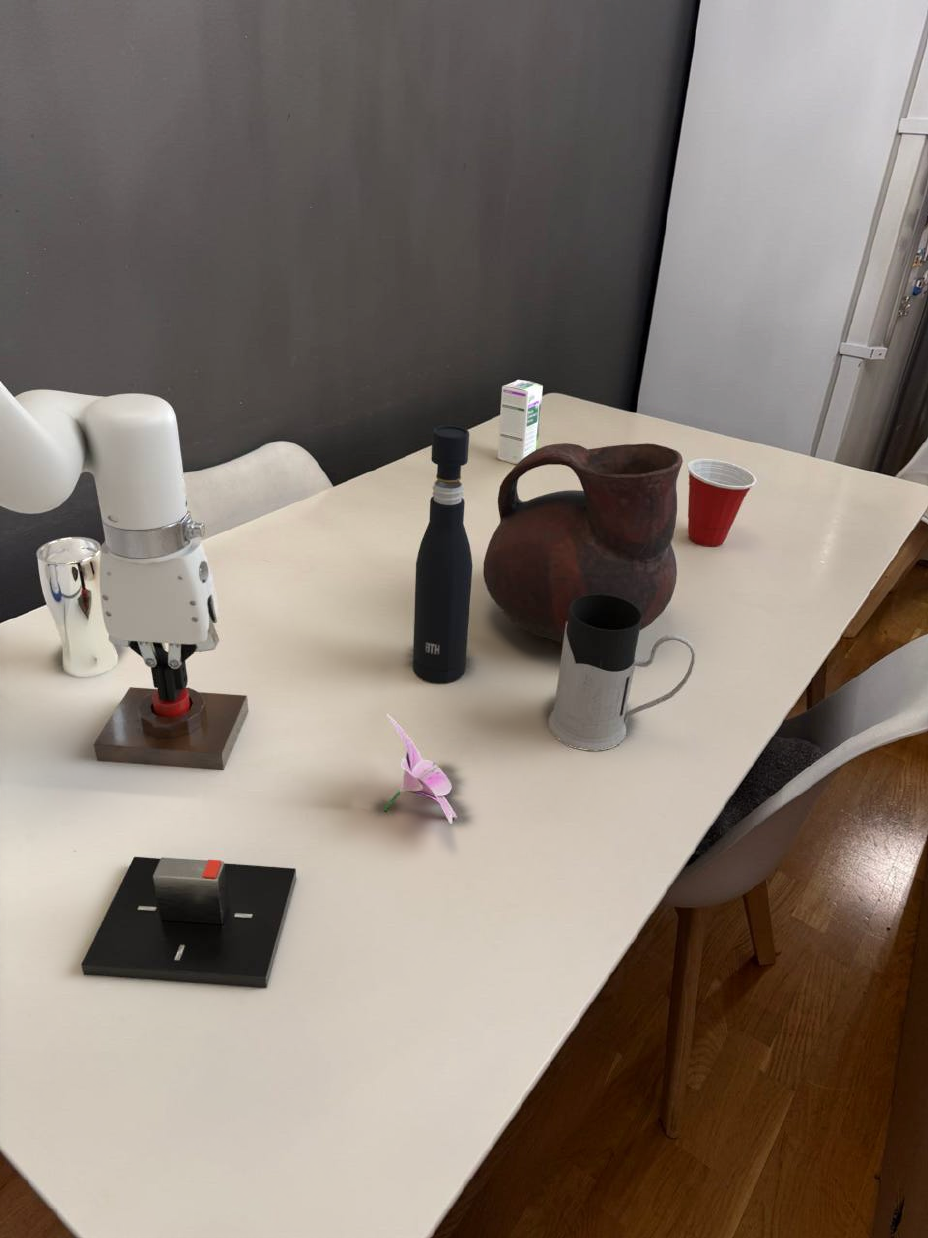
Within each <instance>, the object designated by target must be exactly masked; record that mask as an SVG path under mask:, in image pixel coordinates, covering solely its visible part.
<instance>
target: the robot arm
mask: <svg viewBox="0 0 928 1238" xmlns="http://www.w3.org/2000/svg"><path fill="white" fill-rule="evenodd" d="M177 421H178V420H177V416H176V412H175V410H174V407H172V405H171V404H170V403H169V402H168V401H167V400H165V399H163V398H161V396H157V395H152V394H147V393H137V392H136V393H134V392H133V393H132V392H131V393H120V394H119V393H118V394H114V395H113V394H112V395H108V396H100V395H93V394H92V395H91V394H84V393H75V392H71V391H70V392H69V391H63V390H56V389H55V390H54V389H32V390H28V391H24V392H21V393H19V394H17V395H15V396H13V394H12V393H11V392H10V391H9V389H7V387H6V386H5V385H4V384H3V383H2V381H1V380H0V507H2V508H4V509H7V510H9V511H12V512H16V513H19V514H28V515H33V514H43V513H46V512H49V511H52V510H54V509H56V508H58V507H60V506H61V505H62V504H64V502H66V501H67V500H68V499H69V498H70V496H71V495H72V494H73V492H74V490H75V488H76V486H77V484H78V482H79V479H80V476H81V474H83V473H85V472H87V473H90V474H91V475H92V476H93V479H94V483H95V488H96V494H97V500H98V505H99V511H100V516H101V523H102V529H103V535H104V542H103V543H102V544H101V552H100V596H101V606H102V613H103V619H104V623H105V627H106V630H107V632H108V633H109V641H110V642H111V643H113V645H117V646H121V647H125V648H129V649H130V650H132V651H134V653H136V654H137V655H138V656H140V657H141V658H142V659H143V661H144V664H145V666H147V667H148V668H150V671H151V678H152V684H153V688H154V689H158V694H159V699H160V700H166V699H170V701H176V700H177V698H178V696H179V694H180V692H181V690H184V689H185V688H186V687H188V680H189V679H188V672H187V671H188V670H187V665H186V661H187V660H188V659H190V657H191V656H193V654H194V653H196V652H198V653H200V652H201V653H202V652H209V651H214V650H216V649H217V647H218V645H219V642H220V637H219V634H218V632H217V630H216V627H215V624H217V622H218V620H219V604H218V599H217V593H216V589H215V588H216V587H215V584H214V579H213V575H212V571H211V567H210V564H209V560H208V558H207V554H206V552H205V551H206V550H205V548H204V546H203V543H202V541H201V539H200V538H204V537H205V534H206V526H205V523H203V522H202V523H201V522H197V521H196V520H193V518H192V514H191V511H190V510H188V500H187V493H186V486H185V476H184V468H183V460H182V452H181V445H180V444H181V443H180V435H179V427H178V422H177ZM166 644H168V648H167V649H168V650H166V646H165V645H166Z"/></svg>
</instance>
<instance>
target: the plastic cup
mask: <svg viewBox="0 0 928 1238" xmlns="http://www.w3.org/2000/svg"><path fill="white" fill-rule="evenodd" d="M687 471H688V505H687V507H688V508H687V519H688V521H687V523H688V524H687V535H688V539H689V540H690V541H691V542H693V543H695V544H697V545H699V546H704V547H720V546H722V545H723V544H724V542H725V540H726V539H727V537H728V535H729V532H730V530H731V527H732V526H733V524H734V522H735V519H736V517H737V516H738V514H739V510H740V508H741V507H742V504H743V502H744V500H745V497H746V496H747V494H748V492H749V491H750V490H751V489H752V488H753V487H754V486H755V485H756V484H757V481H758V480H757V478H756V476H755V475H754V474H753V473H752V472H751V471H749V469H746V468H744V467H742V466H740V465H737V464H734V463H732V462H729V461H725V460H718V459H712V458H698V459H693V460H690V462H689V463H687Z"/></svg>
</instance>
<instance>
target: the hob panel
mask: <svg viewBox="0 0 928 1238" xmlns="http://www.w3.org/2000/svg"><path fill="white" fill-rule="evenodd" d="M160 859H161V858H159V857H158V858H157V857H145V856H133V858H132V860H131V862H130V864H129V867H128V868H127V870H126V872H125V874H124V876H123V879H122V880H121V883H120V884H119V887H118V889H117V890H116V893H115V895H114V897H113V898H112V901H111V903H110V904H109V906H108V909H107V911H106V913H105V915H104V917H103V919H102V921H101V923H100V925H99V928H98V929H97V932H96V933H95V934H94V935H95V936H94V937H93V940H92V941H91V943H90V946H89V948H88V950H87V952H86V953H85V955H84V957H83V960H82V962H81V964H80V965H81V969H82V974H83V975H84V976H97V977H111V978H124V979H139V980H152V981H163V982H164V981H165V982H177V983H189V984H190V983H191V984H203V985H216V986H217V985H218V986H231V987H243V988H258V989H267V988H268V984H269V982H270V981H269V980H270V977H271V975H272V974H271V973H272V971H273V966H274V963H275V959H276V954H277V951H278V948H279V945H280V940H281V936H282V932H283V929H284V926H285V921H286V918H287V914H288V911H289V907H290V903H291V900H292V896H293V892H294V889H295V885H296V881H297V869H296V868H295V867H282V866H281V867H280V866H267V865H255V864H254V865H252V864H238V863H227V862H224V866H225V874H226V883H227V891H228V900H229V907H228V910H227V913H226V916H225V919H224V922H223V924H211V923H196V922H180V921H165V920H161V919H160V913H159V908H158V902H157V896H156V891H155V885H154V879H153V875H154V873H155V871H156V868H157V866H158V864H159V862H160Z"/></svg>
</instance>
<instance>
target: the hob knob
mask: <svg viewBox="0 0 928 1238" xmlns="http://www.w3.org/2000/svg"><path fill="white" fill-rule="evenodd" d="M159 859H160V862H159V864H158V866H157V868H156V871H155V873H154V875H153V879H154V885H155V891H156V896H157V902H158V908H159V913H160V919H161V920H165V921H180V922H196V923H211V924H223V922H224V919H225V916H226V913H227V910H228V907H229V900H228V891H227V883H226V874H225V866H224V863H225V861H223V860H220V859H207V860H206V859H205V860H204V859H189V858H177V857H176V858H175V857H161V858H159Z"/></svg>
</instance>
